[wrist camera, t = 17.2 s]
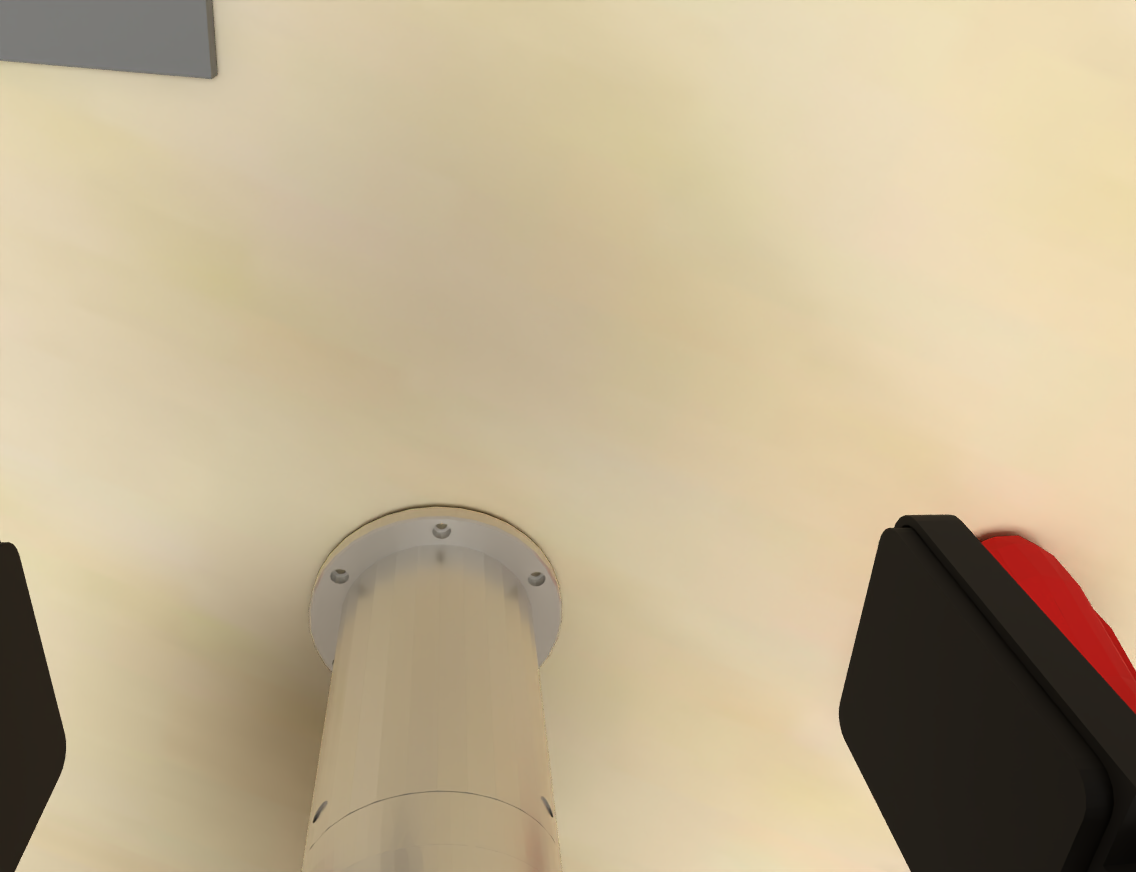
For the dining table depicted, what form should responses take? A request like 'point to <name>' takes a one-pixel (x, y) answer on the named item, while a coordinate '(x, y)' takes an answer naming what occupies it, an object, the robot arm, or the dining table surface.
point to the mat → (112, 35)
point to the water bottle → (1067, 609)
